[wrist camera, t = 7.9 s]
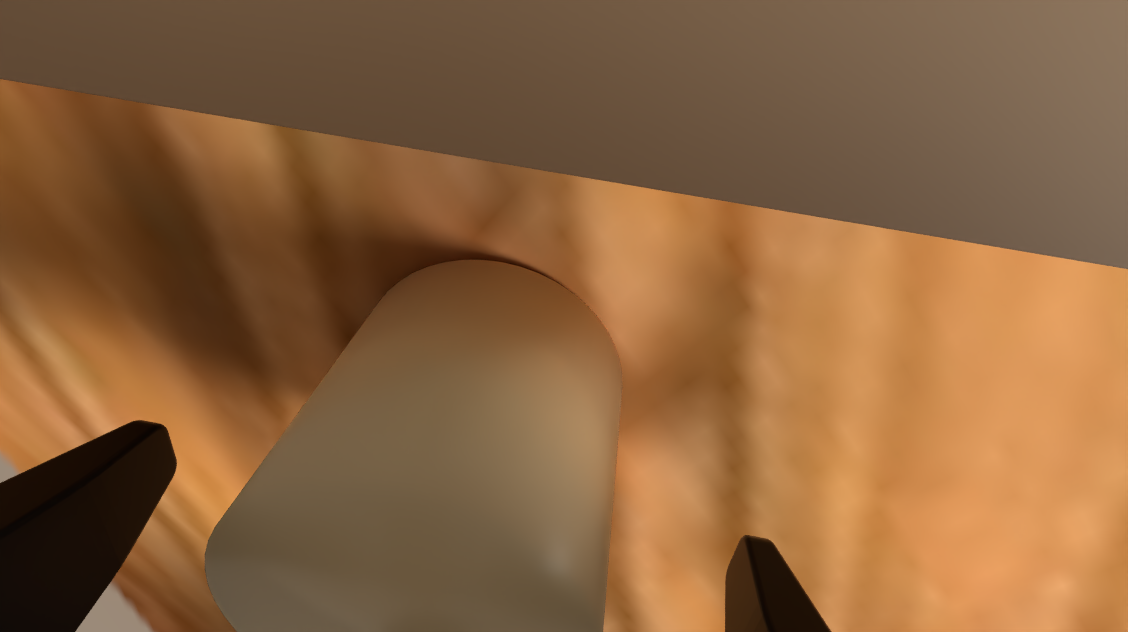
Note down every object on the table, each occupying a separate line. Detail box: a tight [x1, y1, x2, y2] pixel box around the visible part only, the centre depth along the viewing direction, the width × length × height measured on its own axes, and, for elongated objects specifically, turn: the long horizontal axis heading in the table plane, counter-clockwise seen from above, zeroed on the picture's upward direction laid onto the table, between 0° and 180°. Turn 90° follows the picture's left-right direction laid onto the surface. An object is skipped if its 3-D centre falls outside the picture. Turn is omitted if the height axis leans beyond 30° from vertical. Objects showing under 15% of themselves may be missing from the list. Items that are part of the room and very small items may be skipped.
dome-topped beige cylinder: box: [205, 260, 622, 632], centre depth 10 cm, size 5×5×5 cm
